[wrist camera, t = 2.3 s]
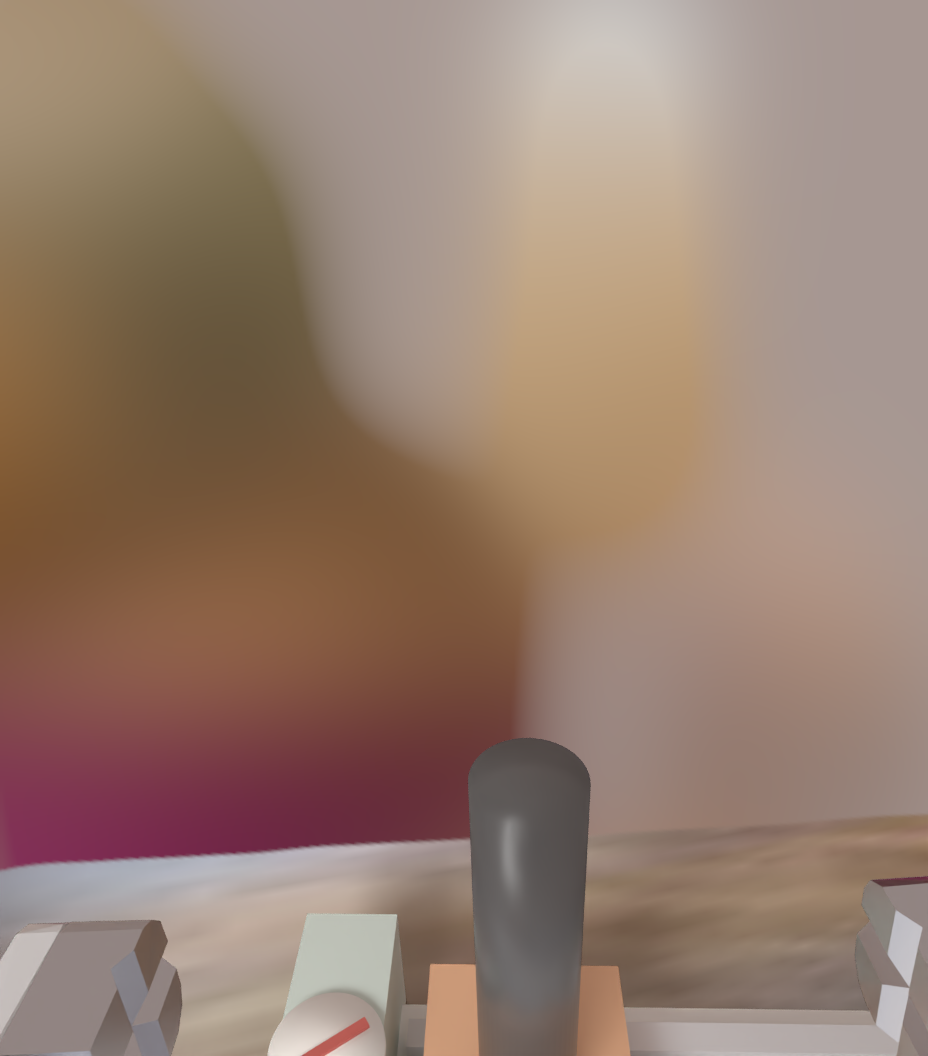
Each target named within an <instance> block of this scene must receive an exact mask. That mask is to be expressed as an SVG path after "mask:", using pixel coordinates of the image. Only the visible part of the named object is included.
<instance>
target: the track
mask: <svg viewBox="0 0 928 1056" xmlns="http://www.w3.org/2000/svg"><path fill="white" fill-rule="evenodd" d="M624 1012H625V1019H626V1026H627V1033H628V1041H629V1048H630V1055H631V1056H897V1051H898V1045H899V1043H898V1042H897V1041H895V1040H894V1039H893V1038H892V1037H890V1036H889V1035H888V1034H887V1033H885V1032H884V1031H883V1030H882V1029H880V1028H879V1027H878V1026H877V1025H876V1024H875V1022H874V1020H873V1018H872V1016H871V1013H870V1011H861V1010H787V1009H713V1008H639V1007H624ZM426 1015H427V1005H417V1004H406V993H405V984H404V974H403V964H402V955H401V945H400V935H399V925H398V916H397V914H307V917H306V921H305V926H304V930H303V934H302V938H301V943H300V947H299V951H298V956H297V960H296V964H295V969H294V973H293V977H292V982H291V986H290V990H289V995H288V999H287V1003H286V1008H285V1012H284V1016H283V1020H282V1021H281V1023H280V1024H279V1025H278V1027H277V1029H276V1031H275V1032H274V1035H273V1037H272V1039H271V1042H270V1045H269V1049H268V1055H267V1056H423V1055H424V1042H425V1028H426Z"/></svg>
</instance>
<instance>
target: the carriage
mask: <svg viewBox="0 0 928 1056" xmlns="http://www.w3.org/2000/svg"><path fill="white" fill-rule="evenodd" d="M590 787H591V786H590V777H589V773H588V771H587V768H586V767H585V765H584V764H583V762H582V761H581V760H580V759H579V758H578V757H577V756H576V755H575V754H574V753H573V752H571V751H570V750H568V749H567V748H565V747H563V746H561V745H559V744H556V743H553V742H551V741H547V740H542V739H534V738H519V739H512V740H508V741H504V742H501V743H498V744H496V745H494V746H492V747H490V748H488V749H487V750H485V751H484V752H483V753H482V754H481V755H480V756H479V757H478V758H477V759H476V760H475V762H474V763H473V765H472V767H471V769H470V772H469V777H468V788H469V789H468V790H469V814H470V840H471V865H472V891H473V916H474V941H475V964H430V976H429V989H428V1002H427V1015H426V1028H425V1042H424V1055H423V1056H631V1055H630V1048H629V1041H628V1033H627V1026H626V1019H625V1012H624V1005H623V998H622V991H621V984H620V977H619V969H618V966H581V960H582V941H583V921H584V902H585V883H586V864H587V844H588V824H589V804H590Z"/></svg>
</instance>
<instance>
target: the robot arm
mask: <svg viewBox="0 0 928 1056" xmlns="http://www.w3.org/2000/svg"><path fill="white" fill-rule="evenodd" d="M861 905H862V907H863V909H864V911H865V913H866V914H867V916H868V918H869V920H870V922H869V923H868V924H867V925H865V926H864V927H863V928H862V929H861V930H860V931H859V932H858V933H857V939H856V949H855V960H856V967H857V974H858V981H859V984H860V987H861V990H862V993H863V996H864V999H865V1002H866V1005H867V1007H868V1009H869V1011H870V1013H871V1016H872V1018H873V1020H874V1022H875V1024H876V1025H877V1026H878V1027H879V1028H880V1029H882V1030H883V1031H884V1032H885V1033H887V1034H888V1035H889V1036H890V1037H892V1038H893V1039H894V1040H895V1041H897V1042H898V1043H899V1045H898V1051H897V1056H928V876H923V877H908V878H893V879H878V880H870V881H869V882H868V884H867V885H866V887H865V888H864V893H863V899H862V904H861ZM167 942H168V940H167V938H166V935H165V932H164V930H163V927H162V924H161V921H156V920H128V921H89V922H69V923H40V924H28V925H27V926H26V927H25V928H23V929H22V930H21V931H20V932H19V933H17V934H16V935H15V937H14V938H13V940H12V942H11V943H10V945H9V947H8V948H7V950H6V952H5V953H4V955H3V957H2V958H1V960H0V1056H171V1054H172V1051H173V1048H174V1045H175V1041H176V1038H177V1035H178V1032H179V1024H180V1017H181V1009H182V993H181V983H180V979H179V976H178V972H177V969H176V968H175V967H174V966H172V965H171V964H170V963H169V962H167V961H166V960H165V959H163V958H162V955H163V953H164V950H165V947H166V945H167Z"/></svg>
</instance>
